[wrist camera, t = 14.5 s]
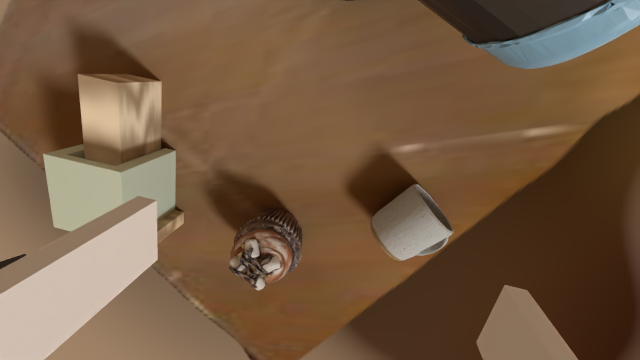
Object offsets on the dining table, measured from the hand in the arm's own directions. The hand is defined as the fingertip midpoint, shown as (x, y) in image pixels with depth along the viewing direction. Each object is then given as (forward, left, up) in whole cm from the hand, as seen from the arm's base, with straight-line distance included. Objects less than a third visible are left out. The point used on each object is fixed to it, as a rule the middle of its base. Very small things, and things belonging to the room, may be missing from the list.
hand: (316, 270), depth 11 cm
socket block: (+13, -30, -31) cm, 45 cm away
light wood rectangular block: (+7, -30, -31) cm, 44 cm away
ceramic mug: (+10, +11, -31) cm, 34 cm away
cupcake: (+18, -8, -31) cm, 37 cm away
